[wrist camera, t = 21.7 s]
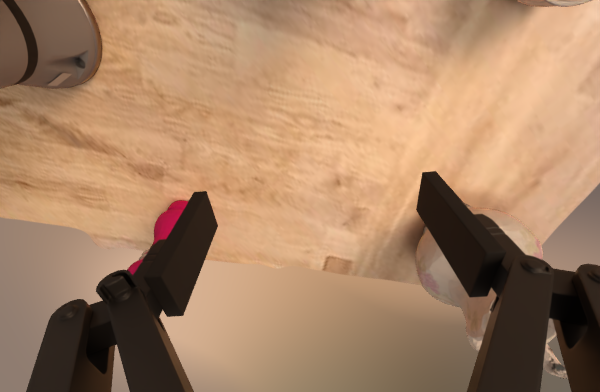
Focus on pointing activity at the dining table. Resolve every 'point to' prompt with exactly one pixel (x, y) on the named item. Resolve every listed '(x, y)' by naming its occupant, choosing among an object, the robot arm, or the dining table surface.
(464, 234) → the robot arm
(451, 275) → the ceramic pitcher
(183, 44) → the dining table surface
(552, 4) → the teacup
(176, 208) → the pepper mill
